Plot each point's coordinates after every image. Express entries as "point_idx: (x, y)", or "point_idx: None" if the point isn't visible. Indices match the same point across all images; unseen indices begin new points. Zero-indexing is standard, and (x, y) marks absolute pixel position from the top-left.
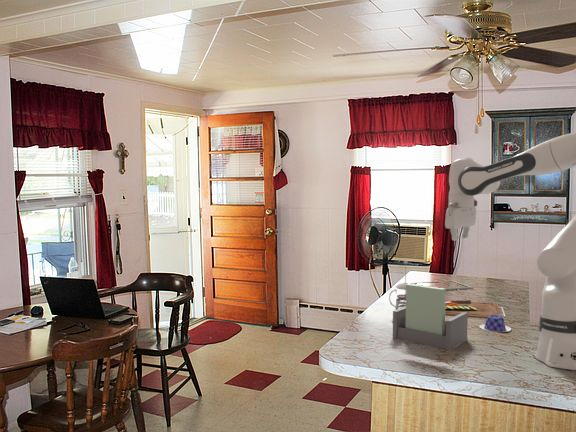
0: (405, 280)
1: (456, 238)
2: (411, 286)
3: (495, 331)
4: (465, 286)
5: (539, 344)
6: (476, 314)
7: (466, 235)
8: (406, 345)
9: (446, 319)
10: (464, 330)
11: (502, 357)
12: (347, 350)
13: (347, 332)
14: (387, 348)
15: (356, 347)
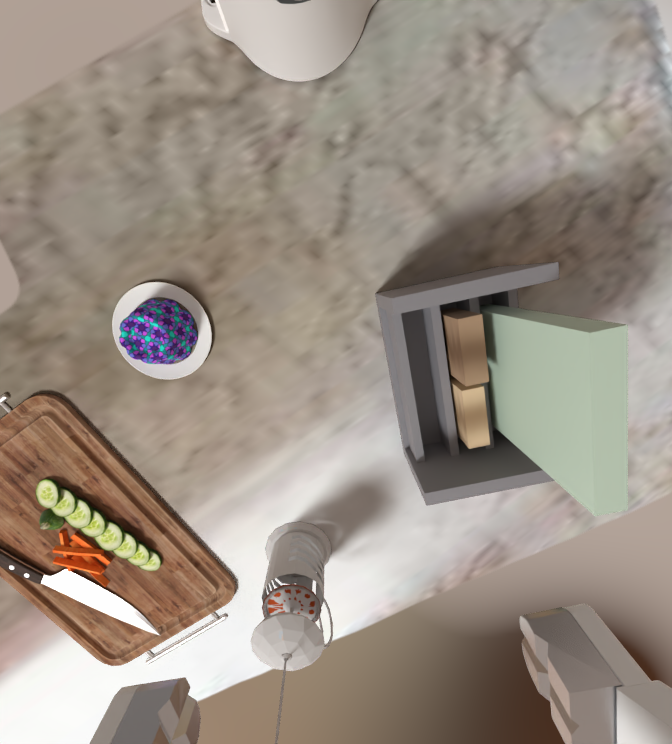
0: (285, 669)
1: (607, 630)
2: (623, 481)
3: (189, 313)
4: None
5: (339, 19)
6: (86, 453)
7: (159, 728)
8: None
9: (462, 334)
10: (406, 290)
11: (412, 144)
12: (648, 452)
13: (522, 549)
14: None
15: None
